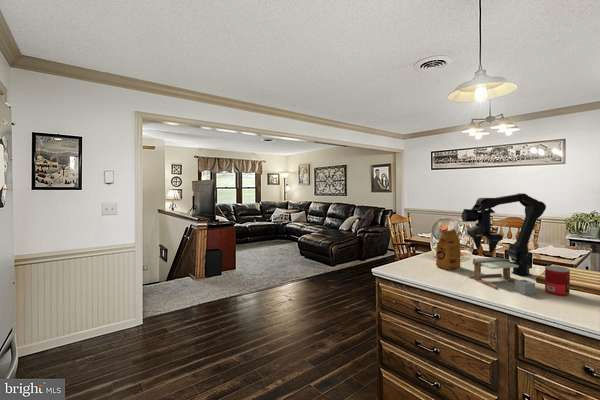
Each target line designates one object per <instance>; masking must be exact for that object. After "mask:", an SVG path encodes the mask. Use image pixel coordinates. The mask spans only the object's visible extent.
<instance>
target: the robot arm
mask: <svg viewBox="0 0 600 400" xmlns="http://www.w3.org/2000/svg"><path fill="white" fill-rule="evenodd" d="M518 202H519V204H520V205H521V206H523V207H524V215H525V216H524V220H523V222H522V225H521V227H520V230H519V233H518V235H517V238H516V241H515V242H514V243H509V245H508V246H509V247H508V248H507V250H506V251H507V254H508V256H509V258H511V261H513V264H515V265H519V267H514V268H512V271H510V274H514V275H517V276H520V277H527V276H533V274H532V273H530V266H531V265H532V264H533V261H534V260H533V259H532V258H530V256H528V255H529V247H528V244H529V242H530V240H531V239H530V238H531V237H532V234H533V232H534V228H535V226H536V222H537V220H538V219H539V218H540V217H541V216H542V215H544V212H545V211H546V209H547V205H546V203H545V202H543V201H541V200H538V199H536V198H534V197H532V196H530V195H528V194H527V193H521V192H520V193H519V192H518V193H516V194H509V195H504V196H497V197H479V198H477V200H476V202H475V204H474V205H473V206H472V207H471V208H469V209H467V208H463V211H462V213H461V220H462V222H464V223H469V222H471V223H475V225H474V226H472V227H470V228H467V229H466V231H467V232H466V233H467V234H466V235H468V237H470V238H471V239H472V241H473V242H474V245H475V248H476V249H477V250H480V247H481V242H482V239H483V237H486V241H487V243H488V250H489V251H488V252H489V253H493V252H494V250H495V248H496V247H497V245H498V244H499V242H501V241H503V240H504V239H503V238H504V236H503V234H501V233H496V232H495V233H494V232H493V231H491V227H492V226H493V223H491V221H492V220H491V219H492V218H491V214H495V213H496V211H495V210H493V208H495V207H497V206H499V205H505V204H512V203H518Z"/></svg>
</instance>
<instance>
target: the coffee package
mask: <svg viewBox="0 0 600 400" xmlns="http://www.w3.org/2000/svg"><path fill="white" fill-rule="evenodd" d="M440 233H441V236H440V239H439V240H438V241H437V243H436V247H435V253H436V254H435V255H436V256H435V257H436V258H435V266H436V267H437V266H438V267H437V268H440V267H441V268H440V269H443V270H446V269H448V270H447V271H449V270H451V269H454V270H456V269H458V268H461V242H460V237H459V236H458V233H457V232H456V229H455V228H452V229H451V230H446V229H445V230H440Z"/></svg>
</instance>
